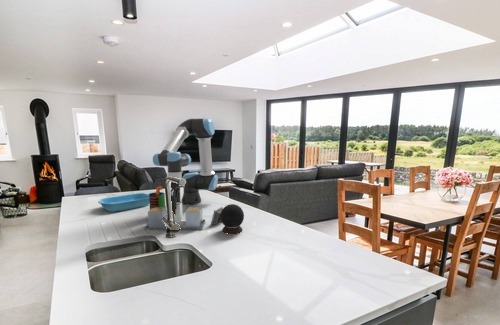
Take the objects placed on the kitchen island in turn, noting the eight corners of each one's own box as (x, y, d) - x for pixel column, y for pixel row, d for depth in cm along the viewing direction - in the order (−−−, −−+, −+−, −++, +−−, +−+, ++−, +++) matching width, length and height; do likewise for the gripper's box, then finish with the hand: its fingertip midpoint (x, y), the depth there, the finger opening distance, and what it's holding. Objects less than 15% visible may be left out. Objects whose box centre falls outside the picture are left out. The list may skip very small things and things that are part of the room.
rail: (152, 223, 158) (151, 205, 157) (205, 222, 159) (204, 205, 158) (145, 229, 148) (144, 211, 146) (202, 229, 148) (201, 211, 147)
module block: (172, 218, 156) (171, 201, 154) (182, 218, 156) (182, 201, 154) (169, 222, 150) (168, 204, 149) (180, 222, 150) (179, 204, 149)
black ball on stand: (215, 230, 147) (215, 204, 145) (233, 224, 156) (233, 200, 154) (231, 237, 137) (230, 209, 136) (248, 230, 147) (249, 204, 145)
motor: (146, 218, 166) (145, 187, 164) (156, 214, 175) (154, 185, 172) (160, 220, 163) (158, 189, 161) (169, 216, 171) (167, 186, 169)
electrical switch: (218, 219, 165) (219, 205, 163) (225, 221, 163) (226, 207, 161) (210, 224, 156) (211, 209, 155) (218, 226, 154) (219, 211, 153)
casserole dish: (145, 199, 214) (144, 191, 213) (157, 205, 198) (157, 195, 197) (94, 208, 188) (93, 199, 187) (104, 216, 172) (103, 205, 172)
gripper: (172, 176, 159) (174, 213, 162) (163, 182, 141) (164, 223, 143) (185, 176, 159) (186, 213, 162) (177, 182, 141) (178, 223, 143)
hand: (176, 218), depth 153 cm, fingers closed on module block, 6 cm apart
